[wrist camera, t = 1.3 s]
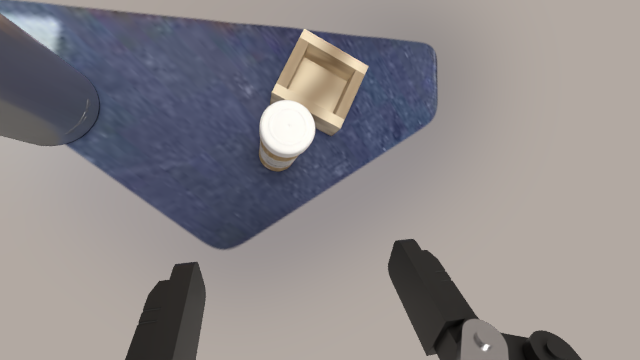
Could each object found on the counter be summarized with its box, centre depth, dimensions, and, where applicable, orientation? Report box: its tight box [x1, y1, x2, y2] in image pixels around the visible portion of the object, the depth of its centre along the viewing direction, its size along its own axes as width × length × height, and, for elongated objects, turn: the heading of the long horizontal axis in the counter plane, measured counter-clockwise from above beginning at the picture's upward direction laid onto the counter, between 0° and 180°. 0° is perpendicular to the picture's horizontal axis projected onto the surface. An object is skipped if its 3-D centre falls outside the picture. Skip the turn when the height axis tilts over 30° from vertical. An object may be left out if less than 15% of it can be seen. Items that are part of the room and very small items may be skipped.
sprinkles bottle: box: [259, 100, 315, 171], centre depth 29 cm, size 5×5×14 cm
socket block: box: [270, 29, 368, 136], centre depth 35 cm, size 9×9×4 cm
